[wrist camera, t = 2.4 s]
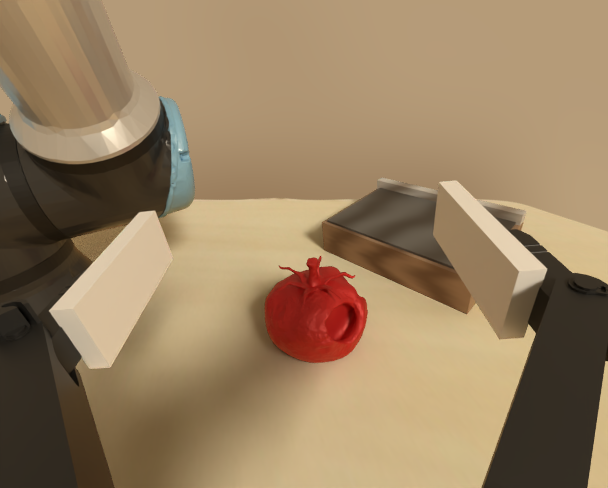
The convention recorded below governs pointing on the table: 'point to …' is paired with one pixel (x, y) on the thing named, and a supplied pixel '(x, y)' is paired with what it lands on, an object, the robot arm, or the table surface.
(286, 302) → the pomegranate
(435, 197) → the tray
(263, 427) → the table surface
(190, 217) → the table surface
